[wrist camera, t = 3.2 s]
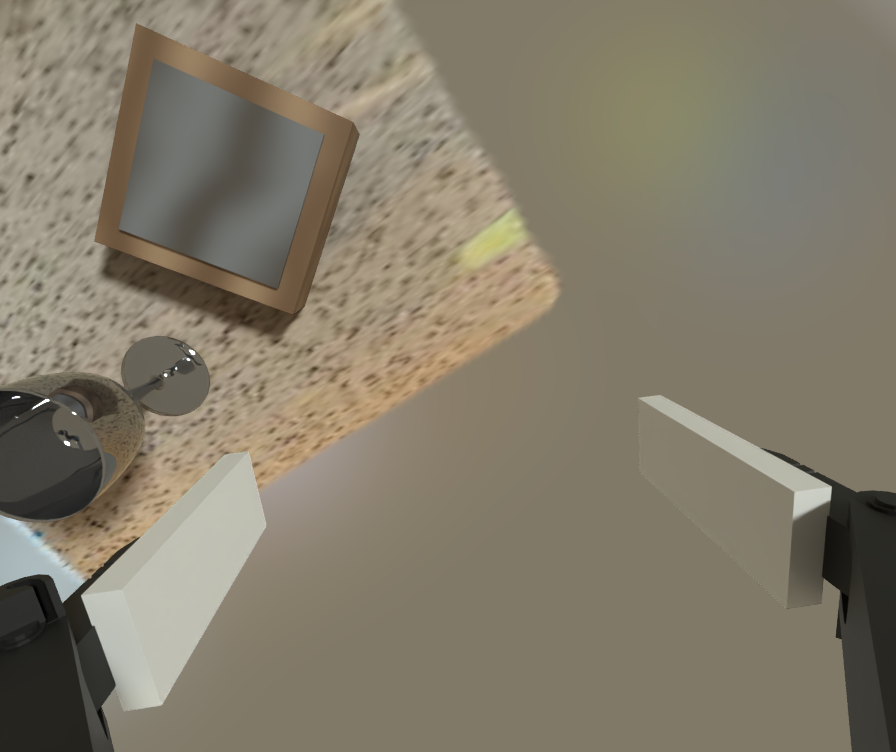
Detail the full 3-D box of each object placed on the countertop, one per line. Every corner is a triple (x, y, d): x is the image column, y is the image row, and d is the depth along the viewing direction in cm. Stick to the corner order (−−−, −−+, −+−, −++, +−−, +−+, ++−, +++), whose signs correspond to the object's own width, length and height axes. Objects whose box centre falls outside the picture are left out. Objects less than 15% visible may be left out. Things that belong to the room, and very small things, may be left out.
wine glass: (228, 357, 39) (122, 428, 25) (196, 434, 41) (79, 542, 26) (133, 314, 37) (-40, 364, 23) (103, 396, 39) (-74, 490, 25)
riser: (128, 240, 36) (91, 241, 32) (168, 48, 32) (133, 21, 28) (304, 306, 38) (291, 315, 34) (359, 134, 35) (352, 121, 31)
